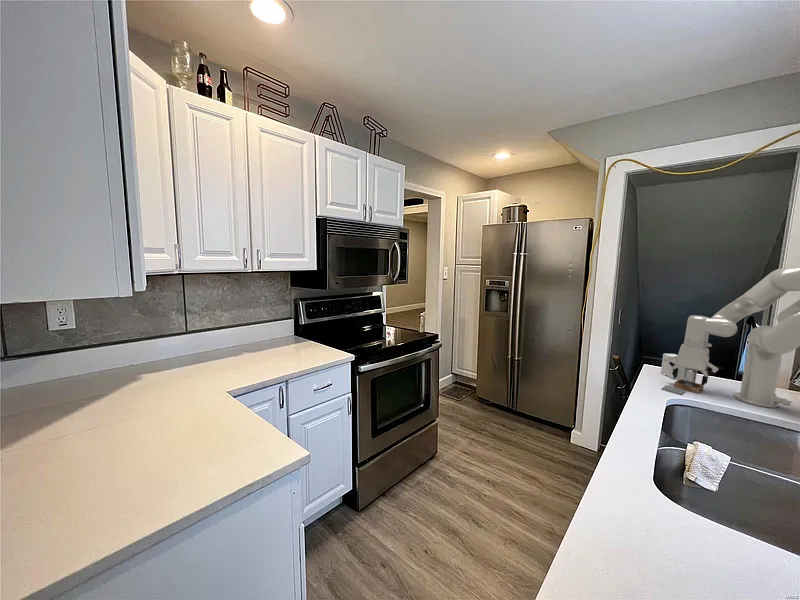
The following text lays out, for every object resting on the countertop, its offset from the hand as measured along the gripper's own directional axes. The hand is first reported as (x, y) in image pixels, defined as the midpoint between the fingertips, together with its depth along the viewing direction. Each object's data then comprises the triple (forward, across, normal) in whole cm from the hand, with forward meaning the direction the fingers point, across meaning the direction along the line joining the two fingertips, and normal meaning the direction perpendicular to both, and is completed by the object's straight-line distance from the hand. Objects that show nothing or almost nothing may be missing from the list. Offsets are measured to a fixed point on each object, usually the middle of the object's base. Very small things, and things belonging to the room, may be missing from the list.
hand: (688, 380), depth 146 cm
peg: (+4, 0, 0) cm, 4 cm away
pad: (+4, +3, +9) cm, 10 cm away
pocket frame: (+4, 0, 0) cm, 4 cm away
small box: (+4, +9, -14) cm, 17 cm away
